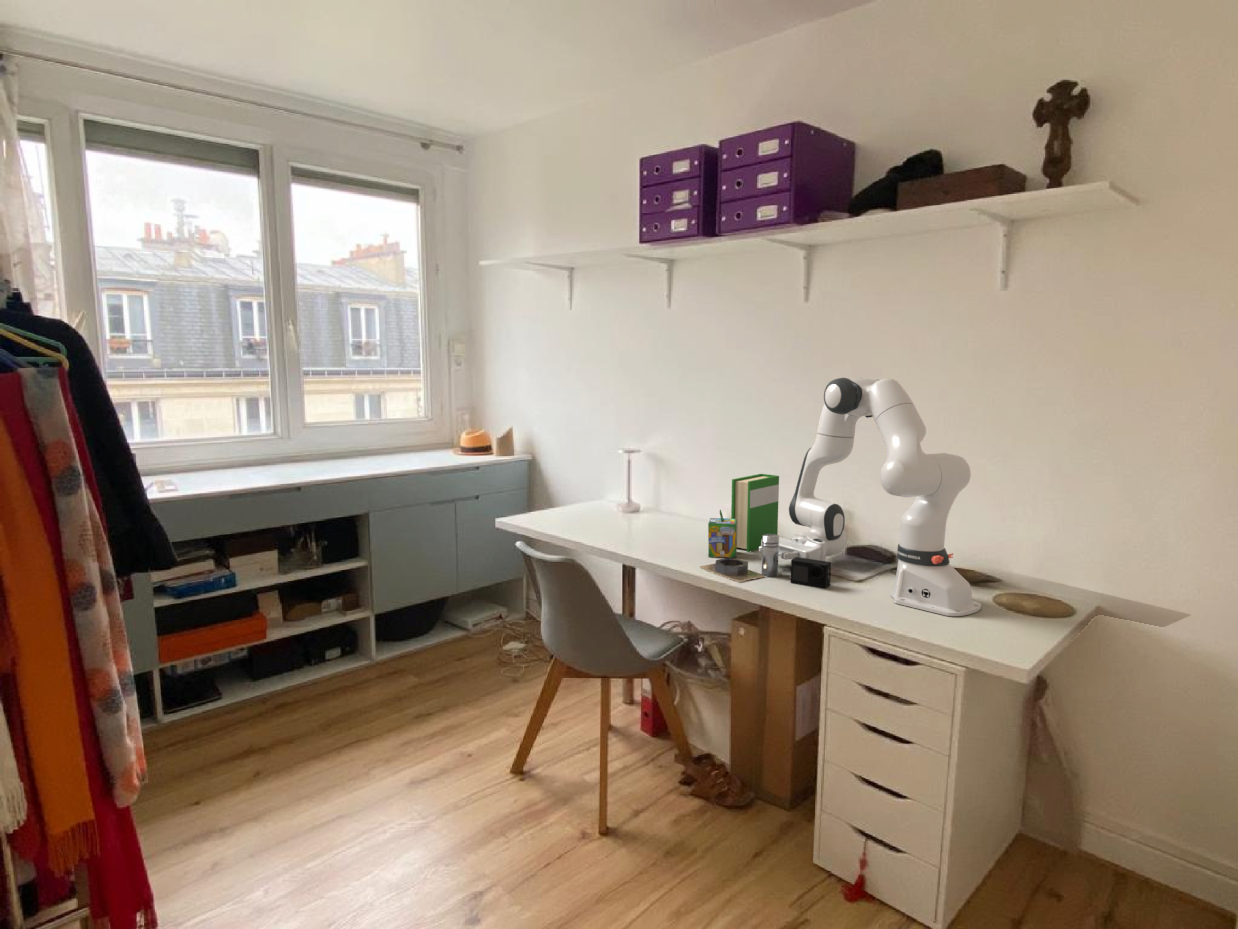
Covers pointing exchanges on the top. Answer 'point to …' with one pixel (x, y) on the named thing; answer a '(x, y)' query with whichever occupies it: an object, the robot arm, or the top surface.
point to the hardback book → (755, 508)
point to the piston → (770, 555)
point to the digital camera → (810, 572)
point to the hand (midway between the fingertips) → (771, 553)
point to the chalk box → (722, 537)
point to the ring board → (732, 569)
